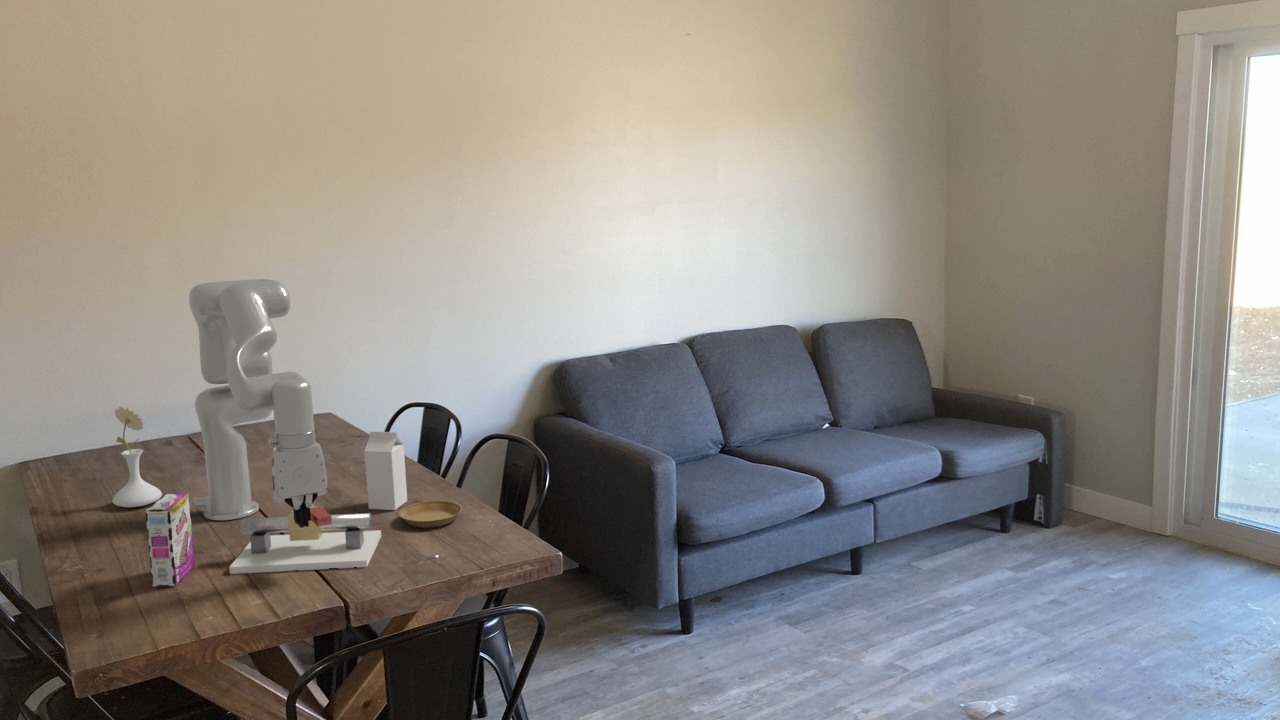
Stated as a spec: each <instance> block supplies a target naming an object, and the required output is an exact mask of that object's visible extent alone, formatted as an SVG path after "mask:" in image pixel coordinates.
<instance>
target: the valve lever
mask: <svg viewBox="0 0 1280 720" xmlns="http://www.w3.org/2000/svg"><path fill="white" fill-rule="evenodd" d="M299 504H300V505H301V504H302V500H299ZM310 515H311V521H312V522H314V523H315V524H316V525H317V526H318V527H319V526H324V525H328V524H332V519H331V515H332V514H330V513H329V512H328V511H327V510H325V509H324V507H323V508H322V507H317V506H316V505H315V504H313V503H312V506H311V507H310Z"/></svg>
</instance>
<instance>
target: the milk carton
mask: <svg viewBox="0 0 1280 720" xmlns="http://www.w3.org/2000/svg"><path fill="white" fill-rule="evenodd" d="M405 460H406V458H405V445H404V443H403V442H402V441H401V439H400V438H399V437H398V433H397V432H395V431H373V430H371V431H369V437H368V440H367V443H366V446H365V448H364V461H365V462H364V463H365V475H366V489H367V492H366V493H367V502H368V509H369V510H381V511H382V510H385V511H396V510H398V508H400V507H401V506H402V505H404V504H405V503H407V502H408V490H407V489H408V487H407V477H406V476H407V475H406V473H407V472H406V463H405V462H406V461H405Z"/></svg>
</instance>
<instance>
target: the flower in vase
mask: <svg viewBox="0 0 1280 720" xmlns="http://www.w3.org/2000/svg"><path fill="white" fill-rule="evenodd" d="M114 413H115V418H116V419H117V420H119V422H120V423H122V424H123V426H124V428H123V431H122V437H121V436H117V439H116V443H120V444H122V445H125V446H126V448H127V450H124V451H122V452H121V453H120V455H122V456H123V458H124V459H125V461H126V463H127V466H128V472H129V480H128V482H127V483H126V484H125V485H124V486H123V487H122V488H120V489H119V490H118V491H117V492H116V493H115V494H114V496H113V497H112V504H113V505H114V506H116V507H122V508H137V507H142V506H147V505H150V504H153V503H156V502H157V501H159V500H160V499H161V498H162V497H163V493H162V491H161V490H160V488H158V487H157V486H154V485H152V484H151V483H149V482H147V481H145V480H144V479H142V477H141V475H140V458H141V456H142V454H143V452H144V450H143V449H142V448H134V449H131V448H130V446H132V445H134V444H135V443H136V442H138V441H139V440H140V439H139V438H137V439H136V440H135V441H133V442H130V444H128V443H127V440H126V439H125V438H126V437H125V433H126V428H129V429H131V430H133V431H137V432H138V431H139V432H140V431H141V430H142V429H145V427H144V425H145V423H144V422H143V419H142V418H140V414H138V413H135V411H134V410H131V409H130V407H126V408H124V407H123V406H119V407H118V408H116V409H115V410H114Z"/></svg>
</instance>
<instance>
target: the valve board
mask: <svg viewBox="0 0 1280 720" xmlns="http://www.w3.org/2000/svg"><path fill="white" fill-rule="evenodd" d="M363 535H364V543H363V545H362V547H361V549H346V537H345V531H341V532H339V531H336V532H323V534H322V535H321V537H320V538H319V540H301V541H290V535H289V534H277V535H276V534H275V535H271V534H270V539H271V547H270V549H269V550H268V551H267V553H261V554H252V552H251V542H248V544H247V545H246V546H245V547H244V548H243V550H242V551H241V552H240V554H238V556H237V557H236V558H235V560H234V561H233V562H232V563H231V564H230V566H229V568H228V569H229V574H230V575H234V574H235V575H239V574H255V573H256V574H257V573H275V572H278V573H279V572H295V570H299V571H314V570H316V571H317V570H330V569H329V568H339V569H354V567H357V569H358V568H359V569H360V568H367V567H368V566H369V564H370V561H371V560H372V557H373V555H374V553H375V551H376V548H377V546H378V544H379V543H378V542H380V541H381V538H382V530H381V529H380V530H379V529H377V530H363ZM379 540H380V541H379ZM293 570H294V571H293Z"/></svg>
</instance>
